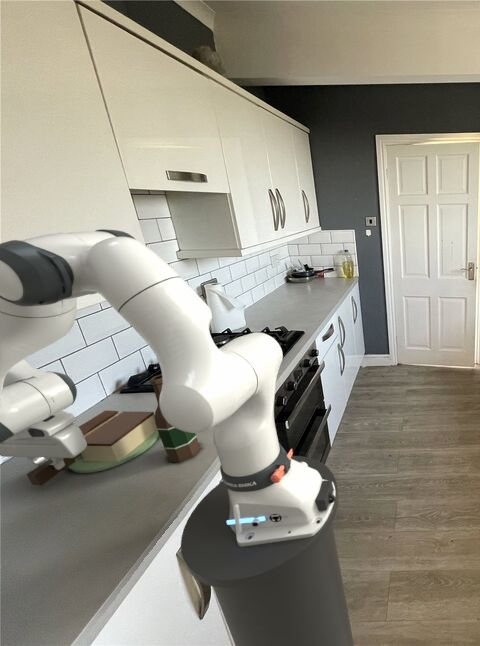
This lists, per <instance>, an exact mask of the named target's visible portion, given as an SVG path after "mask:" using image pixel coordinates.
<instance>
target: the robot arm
mask: <svg viewBox="0 0 480 646" xmlns="http://www.w3.org/2000/svg"><path fill="white" fill-rule="evenodd" d="M95 294H99V295H100V296H101V297H102V298H104V299H105V300H106V301H107V303H108V304H109V305H110V306H111V307H112V308H113V309H114V311H116V312H117V313H118V314H119V315H120V316H121V318H122V319H124V320H125V321H126V323H128V324H129V325H130V326H131V327H132V329H134V331H135V332H136V333H137V334H138V335H139V336H140V337H141V339H143V340H144V341H145V343H146V344H147V345H148V347H150V349H151V351H152V352H153V354H154V355H155V358H156V360H157V362H158V364H159V367H160V371H161V375H162V378H163V384H162V390H161V394H160V397H159V406H160V410H161V413H162V415H163V417H164V418H165V419H166V421H167V422H168V423H169V424H170V425H172V426H173V427H175V428H177V429H179V430H181V431H185V432H189V433H196V434H200V433H204V432H206V431H208V430H210V429H212V428H213V427H214V430H213V444H214V448H215V450H216V453H217V456H218V461H219V463H220V466H219V471H220V475H221V480H222V481H223V482H224V485H225V487H226V488H227V489H228V494H229V502H230V515H229V520H227V525H230V527H231V529H232V530H233V531H234V532H235V533H236V538H237V544H238V546H240V547H244V546H251V545H258V544H265V543H272V542H279V541H286V540H293V539H300V538H307V537H312V536H313V535H315V534H316V533H317V532H318V531H319V530H320V529H321V528H322V526H323V525H324V523H325V522H326V520H327V518H328V517H329V515H330V512H331V510H332V507H333V504H334V501H335V495H336V490H335V486H334V483H333V482H332V481H328V480H323V479H322V477H321V475H320V474H319V472H318V471H317V470H315V469H313V468H310V467H308V465H307V464H306V463H305V462H297V461H295V460H293V459H291V456H293V454H294V451H293V448H290V450H289V451H288V453H287V451H286V450H285V448H284V447H283V445H281V443H280V442H279V438H278V434H277V428H276V422H275V398H276V386H277V378H278V374H279V370H280V368H281V365H282V362H283V358H284V355H283V349H282V347H281V345H280V344H279V342H278V341H277V340H276V339H275V338H274V337H272V336H271V335H269V334H267V333H265V332H259V331H258V332H251V333H248V334H245V335H242V336H241V335H240V336H239V337H236V338H234V339H232V340H230V341H229V342H227V343H226V344H224V345H223V346H221V347H219V348H218V346H217V345H216V343H215V341H214V339H213V338H212V335H211V332H210V325H211V323H212V320H213V311H212V309H211V308H210V306H208V304H207V303H206V302H205V301H204V300H203V298H201V297H200V295H199V294H198V293H197V292H196V291H195V290H194V289H193V288H192V286H190V285H189V283H188V282H187V281H186V280H185V279H184V278H183V277H182V276H181V275H180V274H179V273H178V272H177V271H176V270H175V269H174V268H173V267H172V266H171V265H170V264H169V263H168V262H167V261H166V260H164V259H163V258H162V257H161V256H159V254H157V253H156V252H155V251H154V250H152V249H151V248H150V247H148V246H147V245H145V244H144V243H143V242H141V241H140V240H138V239H136V238H135V237H134V236H132V235H131V234H130V233H128V232H125V231H122V230H117V229H102V228H101V229H96V230H93V231H92V230H91V231H72V232H55V233H48V234H43V235H38V236H34V237H28V238H25V239H21V240H18V239H12V240H11V239H10V240H8V241H4V242H1V243H0V457H2V458H3V457H4V458H6V457H7V458H26V459H27V460H28V461H29V462H30V463H32V464H33V465H35V467H36V468H37V467H38V466H40V465H41V464H43V463H44V462H46V461H47V460H49V459H50V460H53V463H52V464H51V465H50V466H51V467H52V469H53V470H60V469H61V468H63V467H64V466H65V463H64V461H63V459H64V458H74V457H76V456H77V455H79V454H80V453H81V452H83V451H84V450H85V449H86V447H87V443H86V440H85V438H84V436H83V434H82V432H81V430H80V428H79V425H77V424H76V423H74V422H76V421H77V417H76V415H75V414H73V413H71V412H69V411H64V410H65V409H68V408H70V407H71V406H72V405H74V404H75V401H76V399H77V395H78V390H77V386H76V384H75V383H74V381H73V379H72V378H71V377H70V376H69V375H68V374H65V373H62V372H57V371H45V370H41V369H39V368H35V367H33V366H32V365H30V364H29V363H28V362H27V361H26V360H25V359H27V358H28V357H30V356H32V355H33V354H35V353H37V352H39V351H40V350H42V349H44V348H46V347H48V346H50V345H52V344H54V343H56V342H58V341H59V340H60V339H62V338H64V337H65V336H66V335H67V334H68V333H69V332H70V331H71V330H72V329H73V326H74V324H75V322H76V319H77V313H78V302H77V301H78V298H80V297H85V296H88V295H95ZM47 458H48V459H47ZM319 522H320V523H319ZM317 523H318V524H317ZM250 538H251V539H250Z"/></svg>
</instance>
